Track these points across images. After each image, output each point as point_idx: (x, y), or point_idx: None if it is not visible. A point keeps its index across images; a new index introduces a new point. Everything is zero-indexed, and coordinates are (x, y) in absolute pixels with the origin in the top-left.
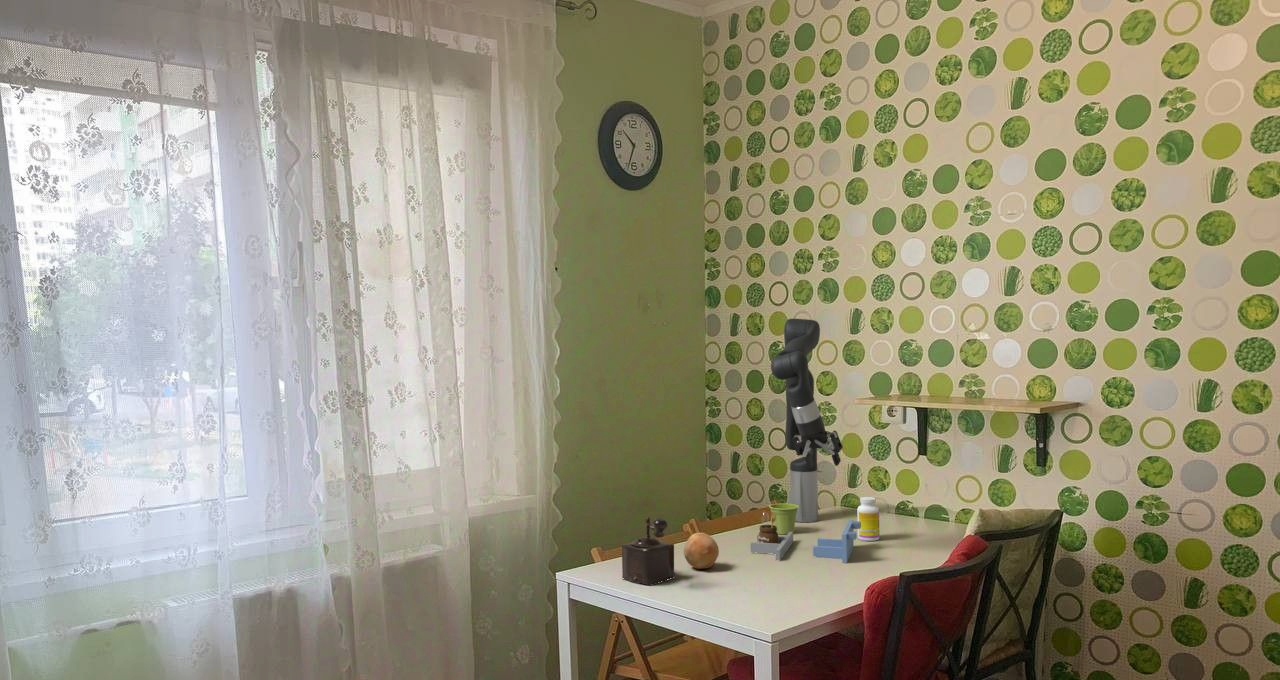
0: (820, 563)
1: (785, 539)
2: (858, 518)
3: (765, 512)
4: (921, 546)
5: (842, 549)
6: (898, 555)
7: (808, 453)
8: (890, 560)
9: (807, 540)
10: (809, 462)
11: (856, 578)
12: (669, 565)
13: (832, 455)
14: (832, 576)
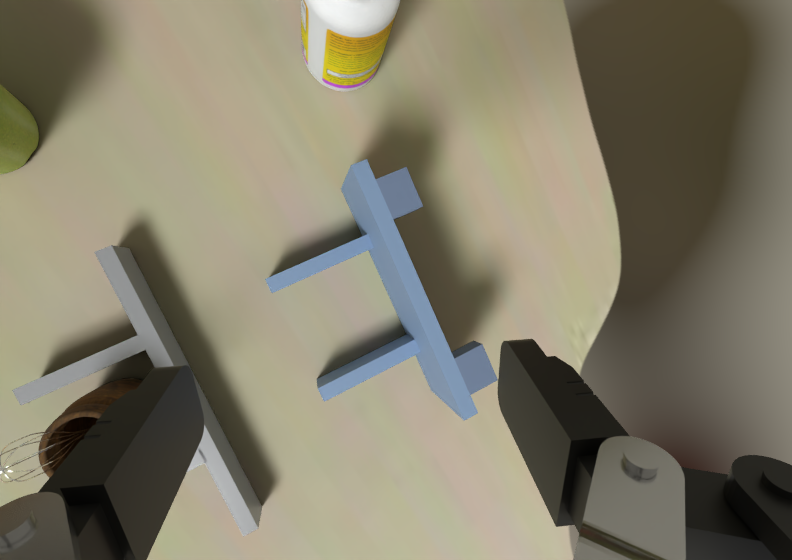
0: (383, 439)
1: None
2: (322, 42)
3: (15, 471)
4: (517, 58)
5: (445, 402)
6: (513, 204)
7: (90, 550)
8: (521, 272)
9: (165, 199)
10: (177, 487)
11: (537, 497)
12: None
13: (571, 521)
14: (481, 528)
